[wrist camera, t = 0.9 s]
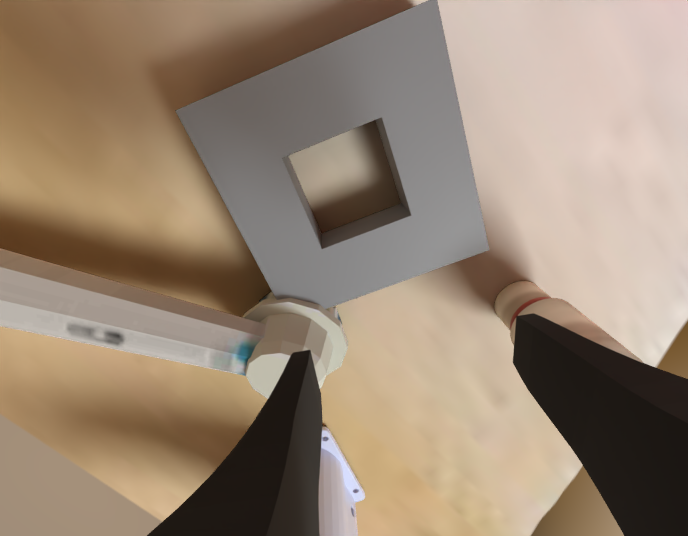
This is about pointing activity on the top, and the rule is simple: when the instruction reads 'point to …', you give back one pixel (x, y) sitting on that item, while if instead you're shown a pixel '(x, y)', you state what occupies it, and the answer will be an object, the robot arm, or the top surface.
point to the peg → (550, 314)
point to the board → (331, 120)
